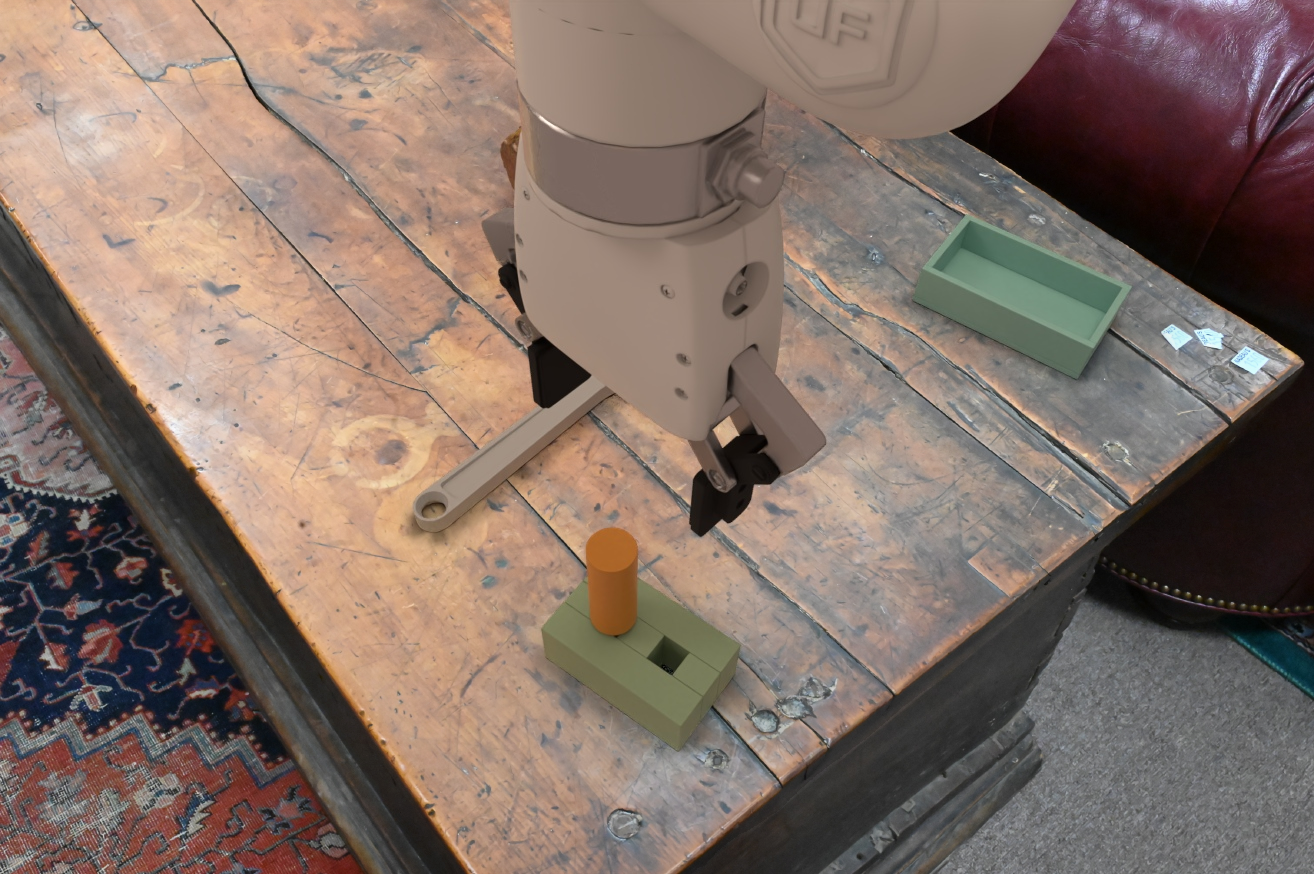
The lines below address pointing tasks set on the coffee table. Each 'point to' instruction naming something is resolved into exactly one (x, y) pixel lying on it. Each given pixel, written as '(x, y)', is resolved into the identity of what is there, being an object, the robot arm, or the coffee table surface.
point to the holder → (645, 661)
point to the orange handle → (612, 580)
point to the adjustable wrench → (505, 455)
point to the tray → (1021, 294)
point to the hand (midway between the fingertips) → (638, 448)
